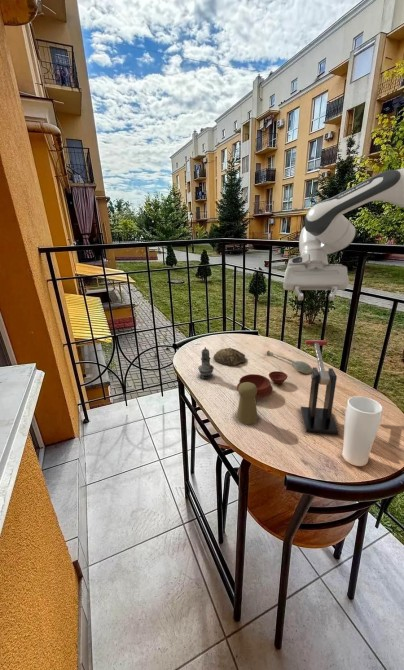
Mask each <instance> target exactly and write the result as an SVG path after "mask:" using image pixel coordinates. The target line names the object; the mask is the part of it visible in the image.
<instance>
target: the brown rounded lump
mask: <svg viewBox="0 0 404 670" xmlns="http://www.w3.org/2000/svg"><path fill="white" fill-rule="evenodd" d="M245 357H246V354H245V353H242V352H241V351H239V350H238V349H235V348H232V347H225V348H221V349H219V350H216V352H215V353H214V355H213V361H215V362H217V363H219V364H221V365H227V366H236V365H239V364H240V363H243V364H244V363H246V358H245Z"/></svg>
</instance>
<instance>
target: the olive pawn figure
mask: <svg viewBox="0 0 404 670" xmlns="http://www.w3.org/2000/svg"><path fill="white" fill-rule="evenodd" d="M237 392H238V394H239V399H238V406H237V412H236V420H237V421H238V422H239V423H240V424H244V425H252V424H255V423H257V421H258V410H257V403H256V398H255V395H256V394H257V387H256V386H255V384H253V383H250V382H244V383H241V384H240V386H239V388H238V390H237Z"/></svg>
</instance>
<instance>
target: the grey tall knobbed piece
mask: <svg viewBox="0 0 404 670" xmlns="http://www.w3.org/2000/svg"><path fill="white" fill-rule="evenodd" d="M211 359H212V358H211V357H210V350H209V349H208V348H207V347H204V348H203V349H202V350H201V358H200V360H201V365H198V367H197V370H198V372H199V373H200V374H199V375H198V376H199V379H200V380H204V381H209V380H211V379H213V378H214V374H213V371H214V370H215V368H214V365H212V364H211Z"/></svg>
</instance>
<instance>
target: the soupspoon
mask: <svg viewBox="0 0 404 670" xmlns="http://www.w3.org/2000/svg"><path fill="white" fill-rule="evenodd" d="M266 354H267V355H274V356H276V357H279V358H281V359H283V360H285V361H288V362H290V363H291V364H292V365H291V366H292V367H293V368H294V369H295V370H297V371H298V372H300V373H301V374H305V375H310V374H312V371H313V367H312V366H311V365H310V364H309V363H307V362H305V361H302V360H301V361H300V360H297V361H294V360H292V359H290V358H287V357H286V356H282V355H279V354H276V353H274V352H272V351H270V350H267V351H266Z"/></svg>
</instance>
